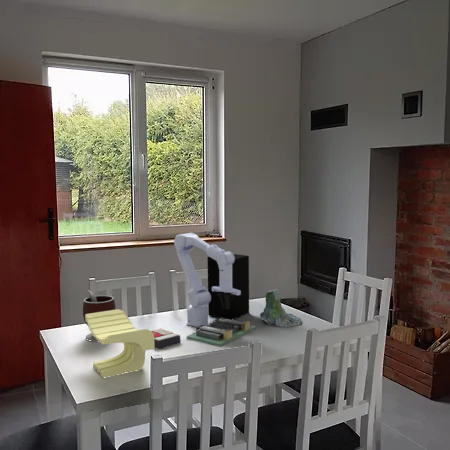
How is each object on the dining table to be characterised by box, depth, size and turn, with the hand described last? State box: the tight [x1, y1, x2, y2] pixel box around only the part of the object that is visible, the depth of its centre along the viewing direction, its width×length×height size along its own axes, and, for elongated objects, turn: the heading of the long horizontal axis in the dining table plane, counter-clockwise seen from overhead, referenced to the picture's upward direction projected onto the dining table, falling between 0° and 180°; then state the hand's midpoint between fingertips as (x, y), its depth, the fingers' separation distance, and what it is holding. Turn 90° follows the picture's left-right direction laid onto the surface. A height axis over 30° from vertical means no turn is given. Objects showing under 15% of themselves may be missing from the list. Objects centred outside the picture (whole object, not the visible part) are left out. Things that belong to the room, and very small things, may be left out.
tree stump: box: [259, 288, 303, 328], centre depth 234 cm, size 18×20×18 cm
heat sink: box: [195, 317, 250, 341], centre depth 217 cm, size 16×22×4 cm
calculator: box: [150, 327, 181, 350], centre depth 208 cm, size 11×4×15 cm
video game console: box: [206, 253, 250, 320], centre depth 245 cm, size 15×15×30 cm
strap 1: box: [199, 326, 225, 334], centre depth 211 cm, size 12×3×1 cm, turn 55°
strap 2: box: [218, 318, 243, 325], centre depth 223 cm, size 12×3×1 cm, turn 55°
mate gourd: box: [82, 289, 117, 342], centre depth 214 cm, size 16×14×20 cm
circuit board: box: [186, 325, 256, 347], centre depth 217 cm, size 18×28×1 cm, turn 145°
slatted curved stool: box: [85, 308, 156, 379], centre depth 179 cm, size 30×16×18 cm, turn 30°
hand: (226, 308), depth 220 cm, fingers closed
